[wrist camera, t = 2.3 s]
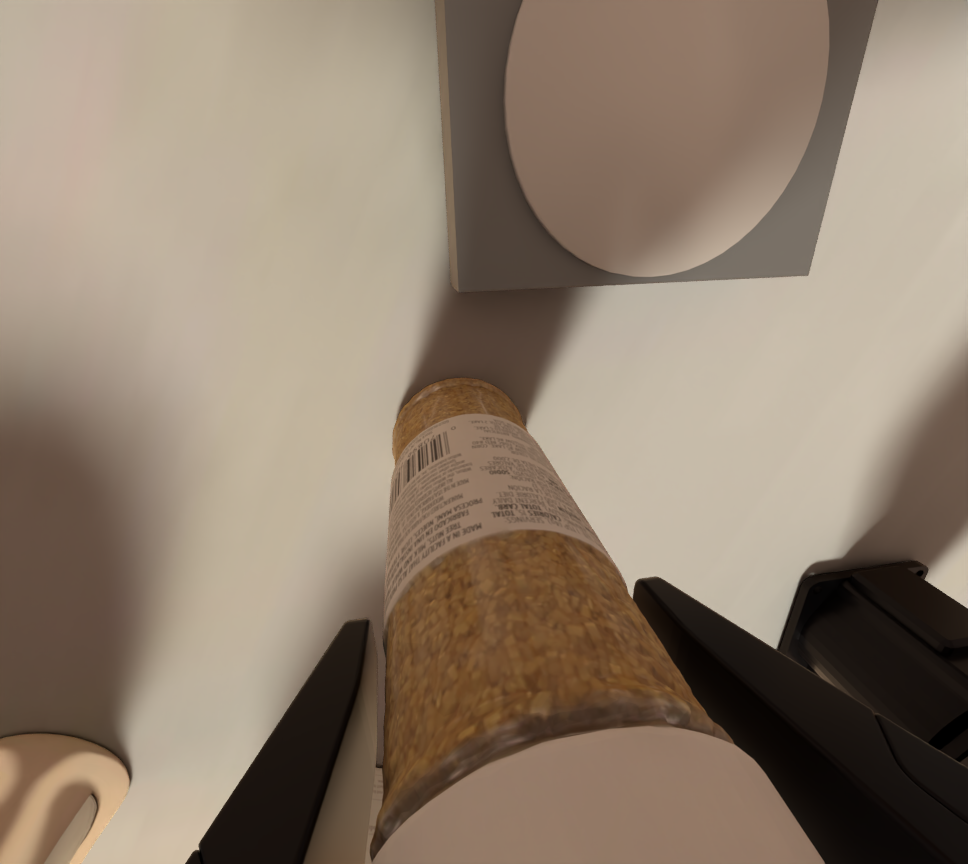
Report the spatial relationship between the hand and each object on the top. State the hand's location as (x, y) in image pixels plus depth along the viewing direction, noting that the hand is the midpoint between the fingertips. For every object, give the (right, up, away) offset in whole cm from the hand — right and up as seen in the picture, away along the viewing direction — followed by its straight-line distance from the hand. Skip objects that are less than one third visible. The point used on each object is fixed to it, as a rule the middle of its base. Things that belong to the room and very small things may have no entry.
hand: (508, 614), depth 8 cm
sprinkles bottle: (-1, +3, +7) cm, 8 cm away
